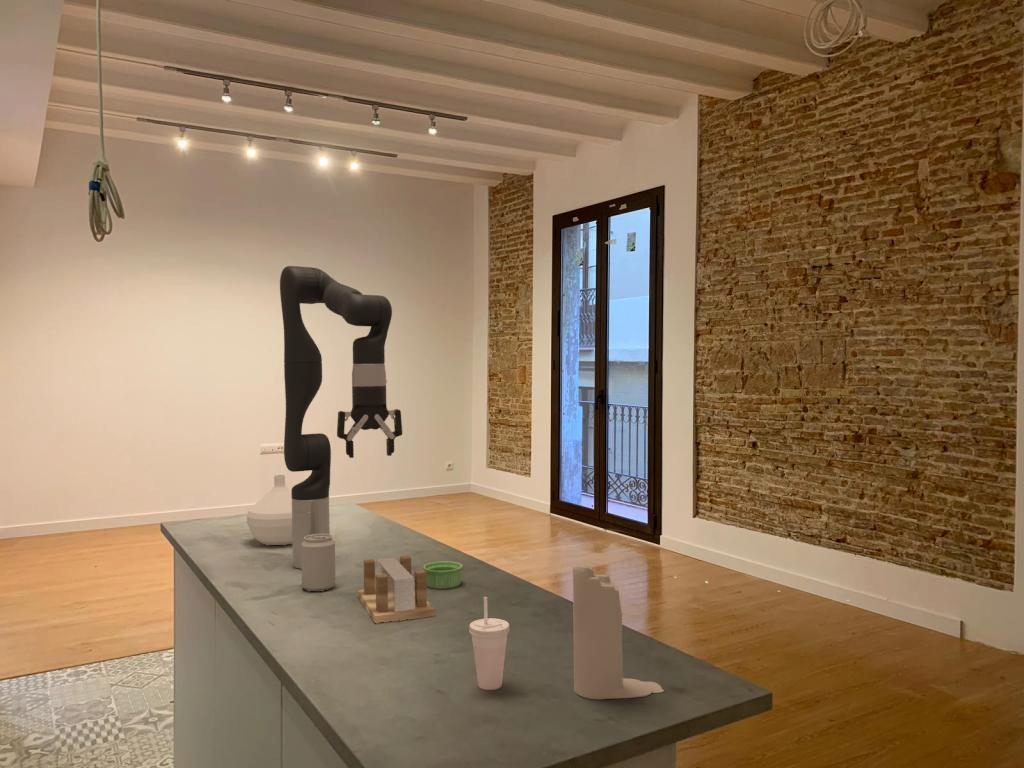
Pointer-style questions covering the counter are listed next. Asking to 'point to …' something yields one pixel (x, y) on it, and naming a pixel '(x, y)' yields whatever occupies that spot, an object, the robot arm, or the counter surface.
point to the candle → (600, 640)
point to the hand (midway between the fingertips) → (370, 456)
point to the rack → (378, 597)
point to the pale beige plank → (397, 584)
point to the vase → (272, 515)
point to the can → (318, 562)
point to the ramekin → (443, 574)
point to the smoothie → (489, 649)
